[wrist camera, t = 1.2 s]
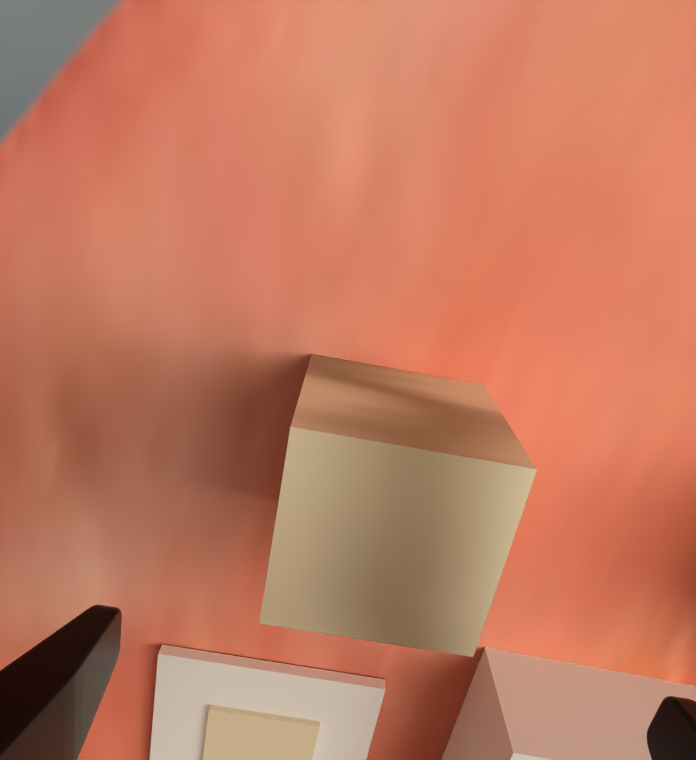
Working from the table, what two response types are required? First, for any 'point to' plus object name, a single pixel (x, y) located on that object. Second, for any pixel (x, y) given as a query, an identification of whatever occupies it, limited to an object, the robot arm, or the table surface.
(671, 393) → the table surface
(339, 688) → the tile
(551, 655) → the table surface
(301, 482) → the birch cube
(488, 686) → the base block
